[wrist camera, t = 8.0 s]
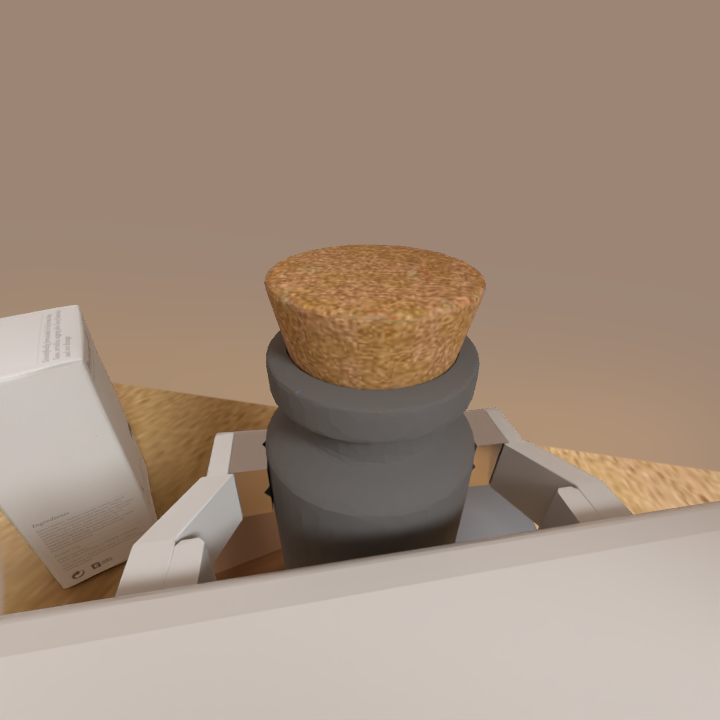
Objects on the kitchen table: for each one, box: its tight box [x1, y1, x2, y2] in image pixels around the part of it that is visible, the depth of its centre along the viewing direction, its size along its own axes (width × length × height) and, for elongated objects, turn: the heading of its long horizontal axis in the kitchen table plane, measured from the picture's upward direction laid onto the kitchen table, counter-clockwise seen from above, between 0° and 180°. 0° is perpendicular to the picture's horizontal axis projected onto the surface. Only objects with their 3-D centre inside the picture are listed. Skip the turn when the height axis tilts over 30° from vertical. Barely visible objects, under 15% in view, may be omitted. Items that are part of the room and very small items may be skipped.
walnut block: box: [212, 504, 285, 581], centre depth 24 cm, size 5×5×4 cm
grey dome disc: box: [455, 485, 537, 543], centre depth 26 cm, size 10×10×1 cm
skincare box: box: [0, 305, 158, 589], centre depth 22 cm, size 8×6×15 cm
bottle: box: [265, 245, 486, 570], centre depth 12 cm, size 6×6×15 cm
